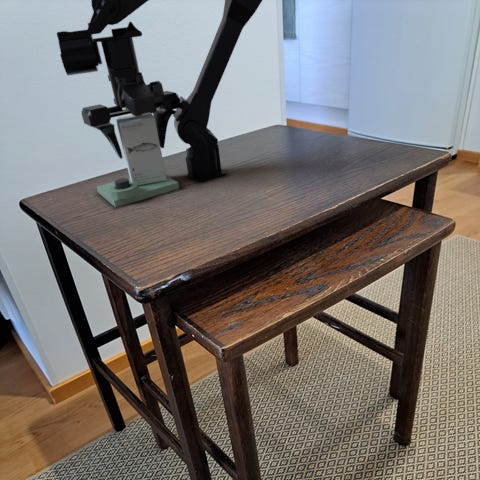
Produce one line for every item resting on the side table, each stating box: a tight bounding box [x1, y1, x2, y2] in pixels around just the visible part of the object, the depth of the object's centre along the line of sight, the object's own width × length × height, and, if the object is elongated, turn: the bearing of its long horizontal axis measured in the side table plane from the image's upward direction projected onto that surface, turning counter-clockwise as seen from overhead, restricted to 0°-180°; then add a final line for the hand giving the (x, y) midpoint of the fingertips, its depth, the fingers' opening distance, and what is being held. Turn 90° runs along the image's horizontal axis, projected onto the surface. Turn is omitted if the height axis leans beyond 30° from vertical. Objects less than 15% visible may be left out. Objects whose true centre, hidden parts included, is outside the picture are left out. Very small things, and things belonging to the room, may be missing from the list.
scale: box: [96, 175, 180, 208], centre depth 94 cm, size 14×13×3 cm
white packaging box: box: [115, 113, 167, 185], centre depth 93 cm, size 7×7×13 cm
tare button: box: [114, 177, 130, 190], centre depth 89 cm, size 3×3×2 cm
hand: (142, 152), depth 93 cm, fingers open, 9 cm apart
